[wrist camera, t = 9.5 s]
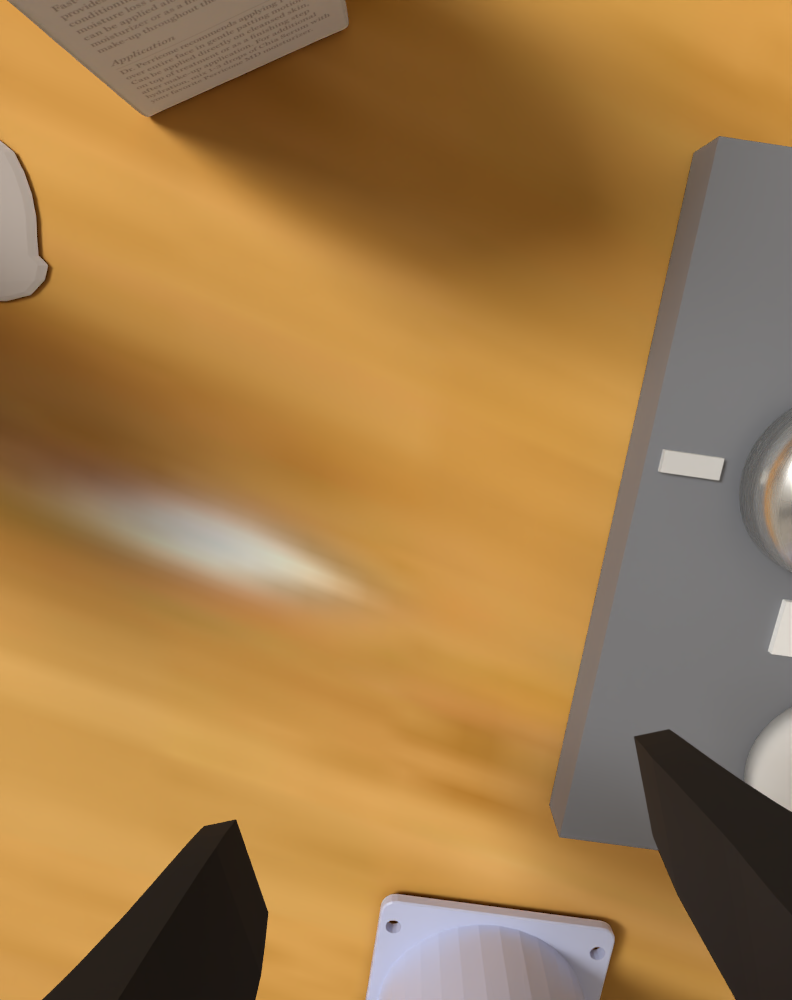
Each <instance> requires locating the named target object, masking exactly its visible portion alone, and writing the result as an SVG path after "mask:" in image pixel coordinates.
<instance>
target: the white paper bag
mask: <svg viewBox="0 0 792 1000" xmlns="http://www.w3.org/2000/svg"><path fill="white" fill-rule="evenodd" d="M47 268H48V265H47V264H46V263H45V261H44V260H43V259H42V258H41V257H40V256H39V255H38V243H37V223H36V213H35V208H34V203H33V197H32V194H31V191H30V188H29V185H28V182H27V179H26V176H25V173H24V171H23V169H22V167H21V165H20V163H19V161H18V159H17V157H16V155H15V153H14V152H13V151H12V150H11V149H10V148H8V147H7V146H6V145H5V144H4V143H2V142H1V141H0V301H8V300H12V299H17V298H21V297H25V296H29V295H31V294H32V293H33V292H34V291H35V290H36V289H37V288H38V287H39V286H40V285H41V284H42V283H43V281H44V280H45V277H46V273H47Z"/></svg>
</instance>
